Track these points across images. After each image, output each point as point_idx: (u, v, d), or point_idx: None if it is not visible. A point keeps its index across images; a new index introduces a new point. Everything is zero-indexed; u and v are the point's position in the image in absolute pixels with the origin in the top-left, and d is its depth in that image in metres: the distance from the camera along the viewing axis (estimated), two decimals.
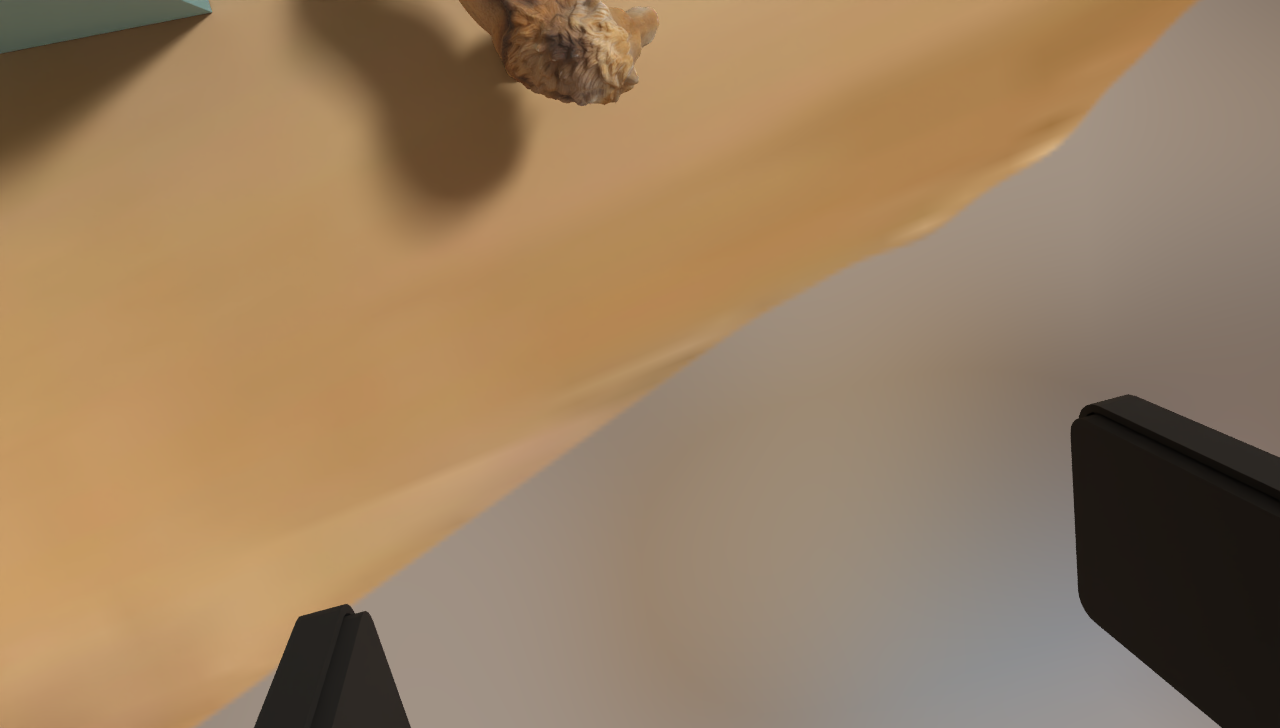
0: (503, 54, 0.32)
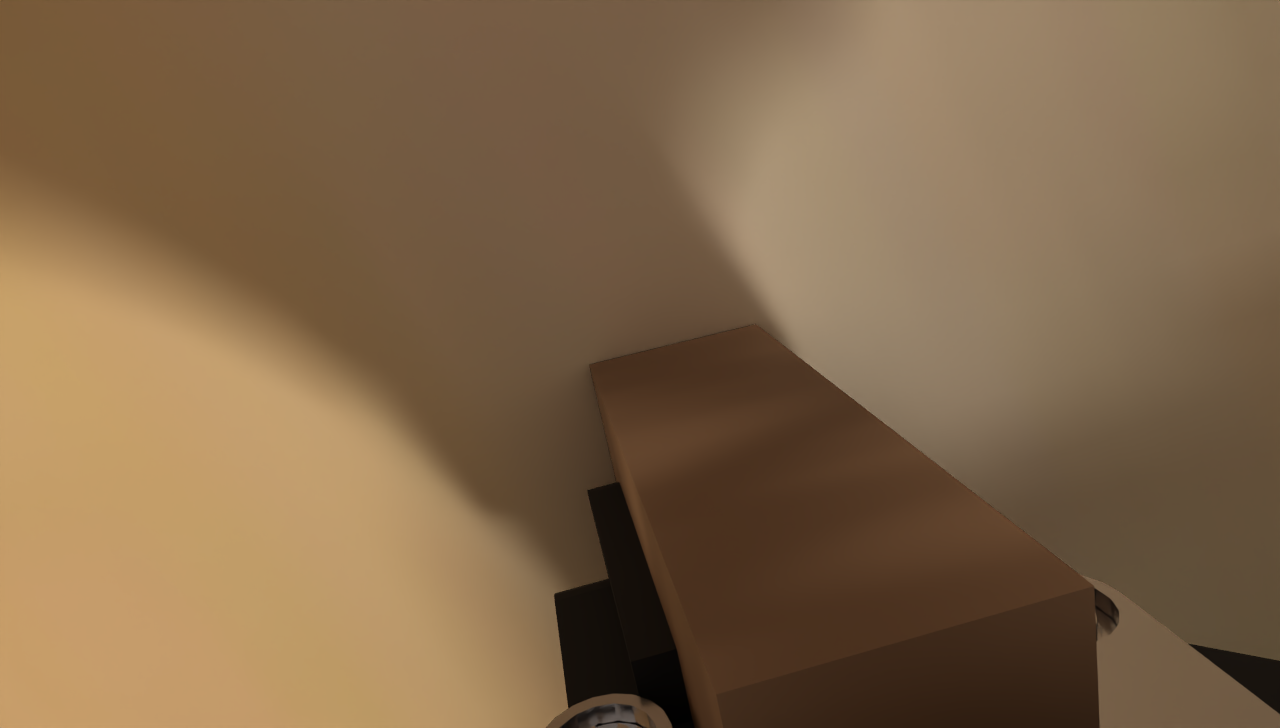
0: None
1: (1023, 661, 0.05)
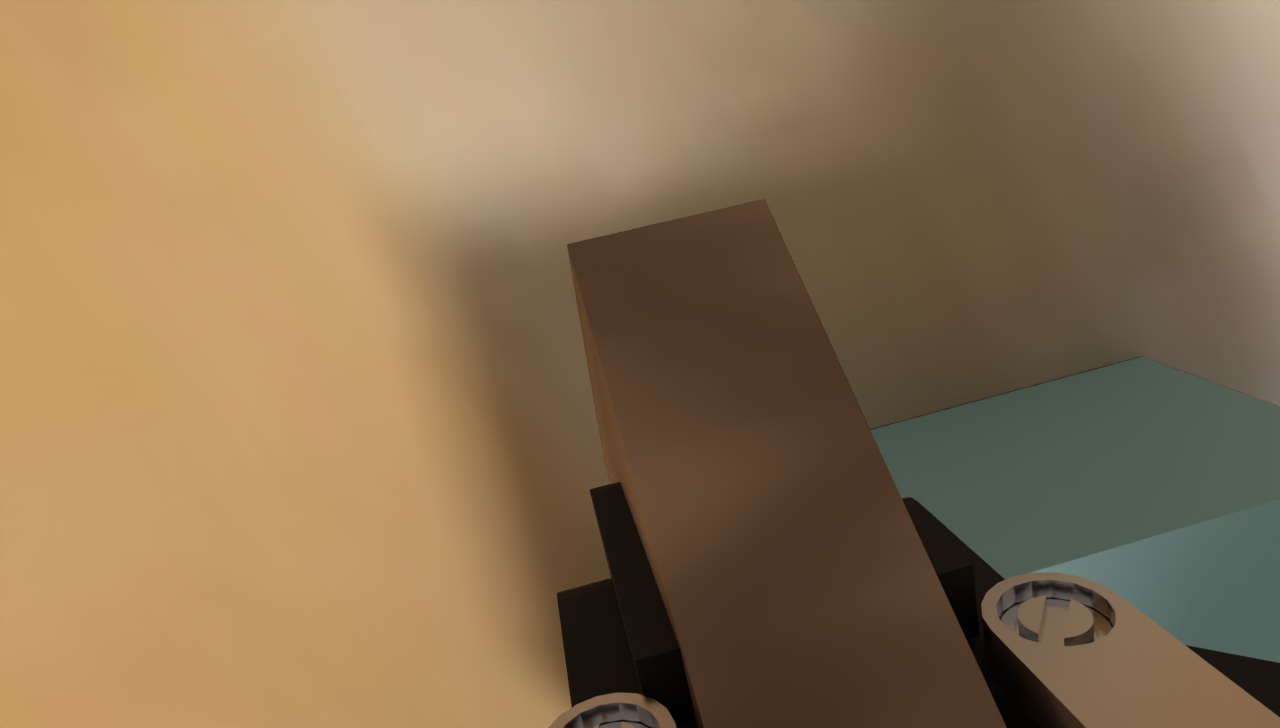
0: None
1: None
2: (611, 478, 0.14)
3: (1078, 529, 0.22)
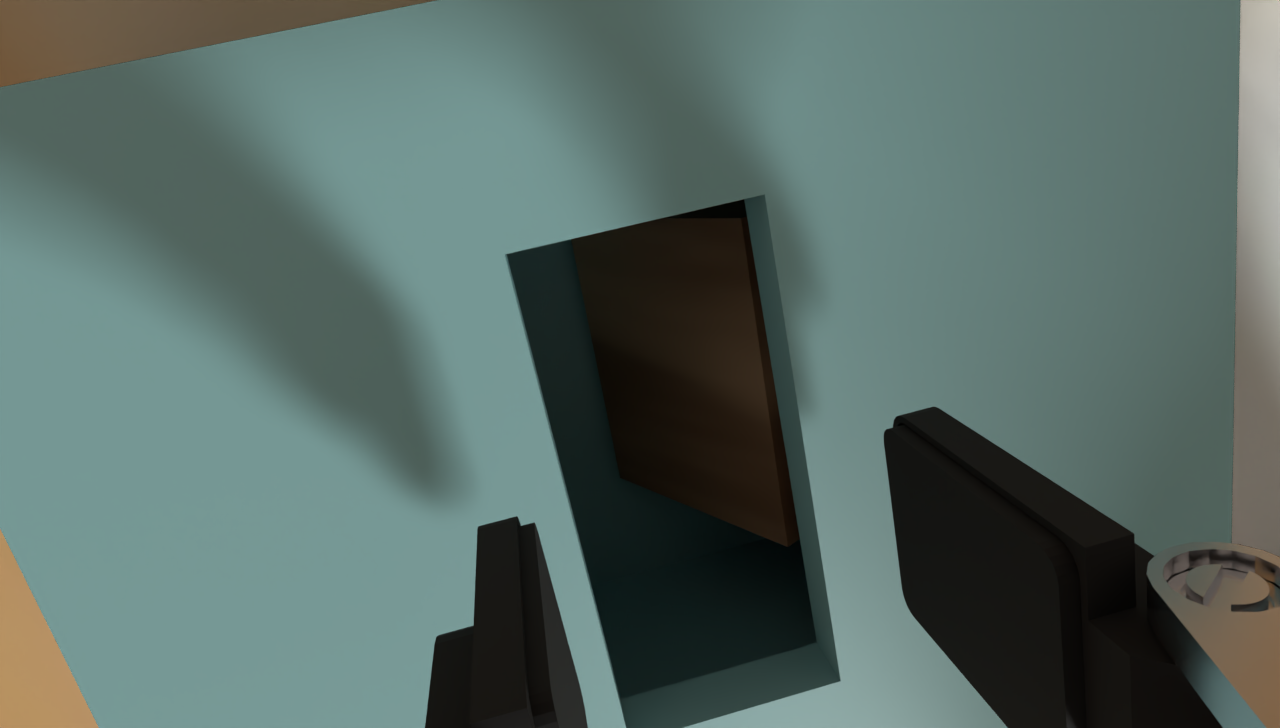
0: None
1: None
2: (592, 249, 0.20)
3: None
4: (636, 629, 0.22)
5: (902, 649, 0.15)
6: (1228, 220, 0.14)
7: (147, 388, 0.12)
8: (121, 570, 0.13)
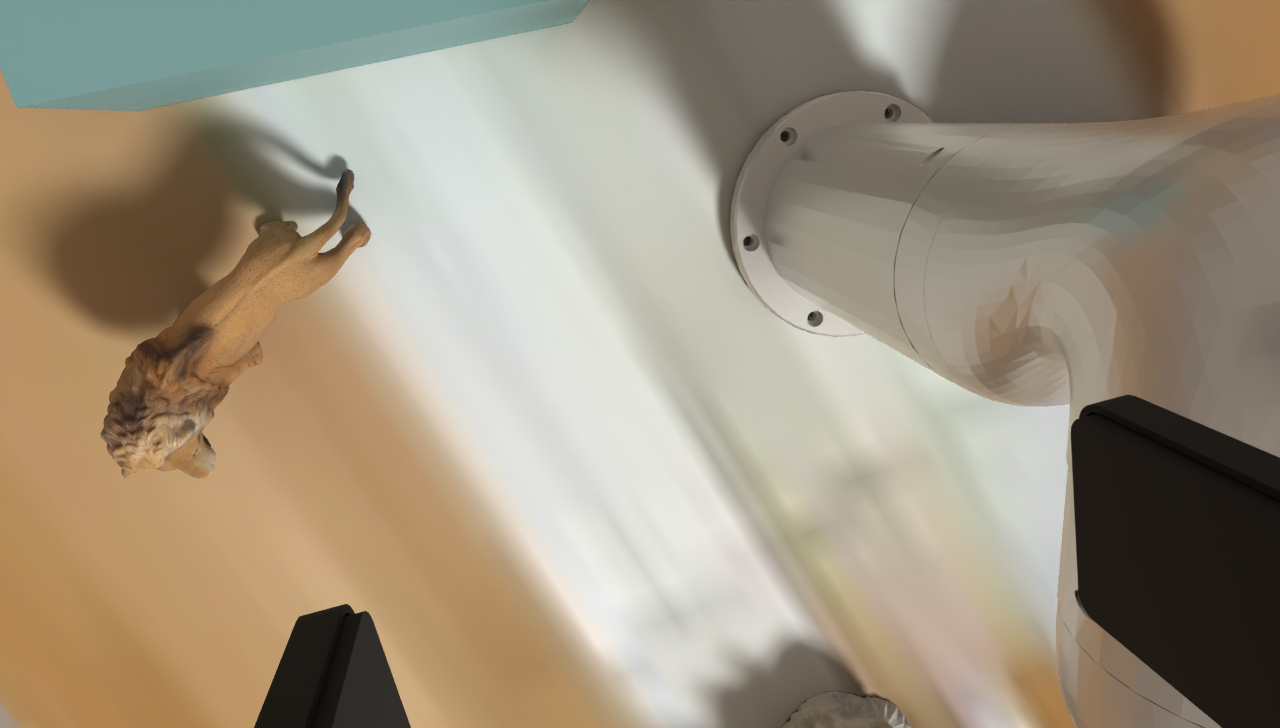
0: (144, 345, 0.35)
1: None
2: None
3: None
4: None
5: None
6: None
7: None
8: None
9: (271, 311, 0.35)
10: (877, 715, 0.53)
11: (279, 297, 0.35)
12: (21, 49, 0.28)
